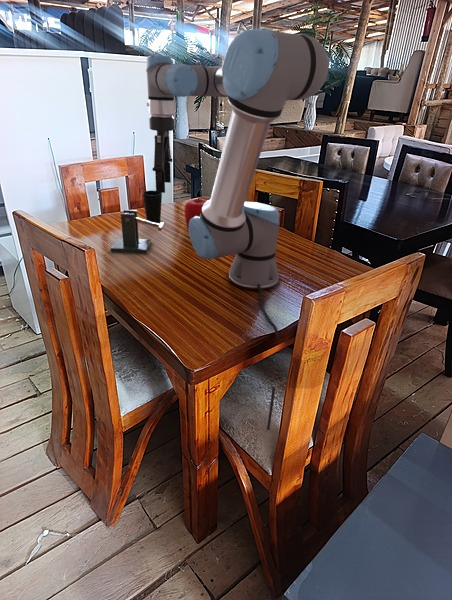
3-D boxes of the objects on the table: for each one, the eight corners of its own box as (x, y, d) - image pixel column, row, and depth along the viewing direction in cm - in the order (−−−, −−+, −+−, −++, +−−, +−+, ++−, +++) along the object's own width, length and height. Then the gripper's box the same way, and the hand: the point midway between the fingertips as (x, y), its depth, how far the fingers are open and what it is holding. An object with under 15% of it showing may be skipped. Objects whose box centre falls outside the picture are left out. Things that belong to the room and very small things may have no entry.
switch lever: (163, 227, 140) (164, 221, 139) (161, 232, 135) (162, 226, 134) (126, 216, 138) (127, 210, 137) (122, 221, 133) (123, 215, 132)
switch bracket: (151, 243, 145) (149, 208, 139) (146, 253, 136) (144, 217, 130) (117, 241, 145) (114, 207, 138) (110, 252, 136) (107, 215, 130)
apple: (186, 226, 162) (186, 193, 156) (211, 228, 162) (212, 195, 155) (182, 235, 153) (182, 200, 146) (209, 237, 153) (210, 202, 146)
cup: (140, 222, 164) (138, 193, 158) (151, 217, 170) (150, 189, 164) (155, 226, 161) (154, 196, 155) (166, 221, 167) (165, 192, 161)
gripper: (155, 111, 130) (158, 177, 141) (141, 118, 109) (145, 196, 119) (178, 113, 131) (179, 179, 141) (168, 120, 109) (170, 197, 119)
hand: (163, 187), depth 130 cm, fingers open, 13 cm apart
